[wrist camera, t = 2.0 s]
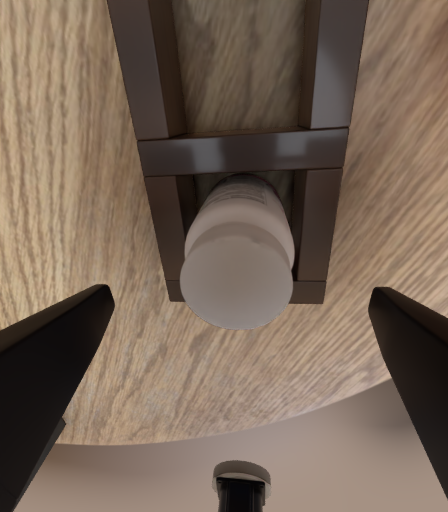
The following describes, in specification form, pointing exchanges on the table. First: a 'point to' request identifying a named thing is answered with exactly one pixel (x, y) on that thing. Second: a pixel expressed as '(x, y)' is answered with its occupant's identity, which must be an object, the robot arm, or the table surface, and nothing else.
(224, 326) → the pill bottle
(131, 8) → the holder
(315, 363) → the table surface
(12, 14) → the table surface
